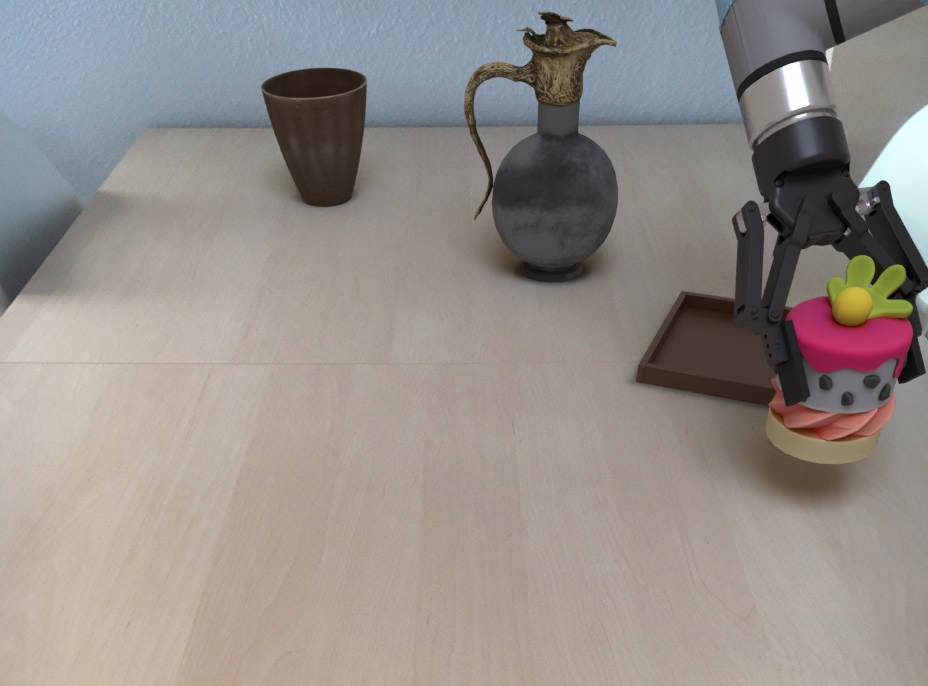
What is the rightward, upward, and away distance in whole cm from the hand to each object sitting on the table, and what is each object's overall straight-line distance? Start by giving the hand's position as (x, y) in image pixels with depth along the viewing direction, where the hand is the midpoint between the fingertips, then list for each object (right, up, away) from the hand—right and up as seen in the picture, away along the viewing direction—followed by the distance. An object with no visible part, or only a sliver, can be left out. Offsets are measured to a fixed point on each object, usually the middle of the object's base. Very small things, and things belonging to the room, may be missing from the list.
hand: (855, 390), depth 86 cm
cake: (-1, -3, +6) cm, 7 cm away
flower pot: (-53, +46, +69) cm, 98 cm away
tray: (0, +10, +29) cm, 31 cm away
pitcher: (-23, +27, +48) cm, 60 cm away
